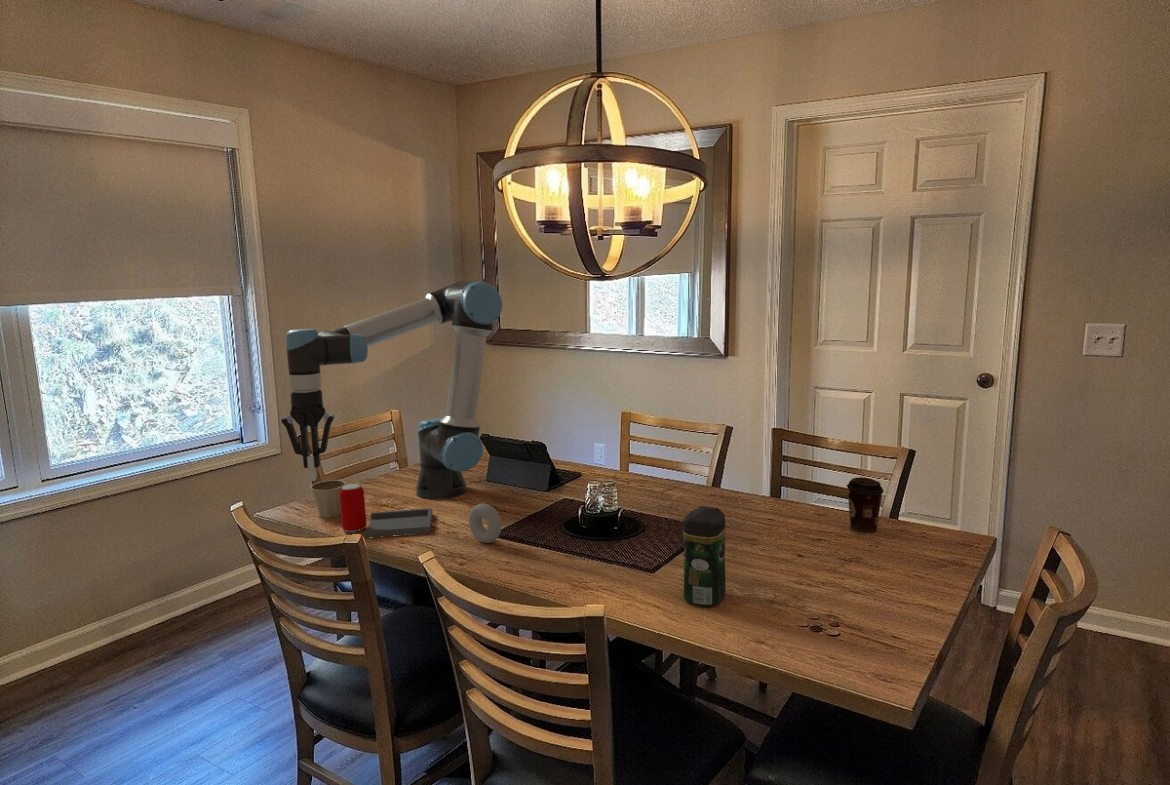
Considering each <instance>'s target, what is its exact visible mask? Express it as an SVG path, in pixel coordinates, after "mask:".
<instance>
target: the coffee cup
mask: <svg viewBox="0 0 1170 785" xmlns="http://www.w3.org/2000/svg"><path fill="white" fill-rule="evenodd" d="M846 487H847V490H848V491H849V493H848V495H847V496H848V497H847V498H848V511H849V512H848V513H849V514H848V515H849V520H850V526H849V527H850V530H851V531H852V532H853V533H856V534H859V535H863V536H864V535H865V536H873V535H875V534H877V533H878V526H879V525H878V524H879V523H878V522H879V518H880V511H881V510H880V509H881V503H882V495H883V493H884V488H883V487H882V484H881V482H880V481H877V480H875V479H872V478H870V477H853V478H851V480H849V482H848V483H847V484H846Z"/></svg>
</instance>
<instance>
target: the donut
mask: <svg viewBox="0 0 1170 785" xmlns="http://www.w3.org/2000/svg"><path fill="white" fill-rule="evenodd" d="M483 518H484V520H485V521H486V522H487V528H486V527H485V526H484V524H483ZM468 525H469V529H470V532H471V533H472V535H473V536H474V537H475V539H477V541H479V542H481V543H483V544H484V543H485V544H491V543H493V542H495V541H496V540H497V539H498V538H499V537H500V535H501V531H502V521H501V517H500V514H499V513H498V512H497V510H496V508H494V507H493V506H492V505H490V504H487V503H478V504H476V505H475V506H473V508H471V510H470V511H469V515H468Z"/></svg>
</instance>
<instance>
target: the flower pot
mask: <svg viewBox="0 0 1170 785" xmlns="http://www.w3.org/2000/svg"><path fill="white" fill-rule="evenodd" d="M345 485H347V483H346V481H344V480H338V479H329V480H322V481H319V482H318V481H317V482H315V483H313V484H312V485H310V487H309V489H310V490H311V491H312V493H313V495H314V499H315V502H316V507H317V511H318V515H319V517H322V518H327V519H328V518H330V517H333V518H334V517H338V516H341V507H340V496H339V493H340V490H341V488H342V487H343V486H345Z"/></svg>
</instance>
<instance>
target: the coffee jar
mask: <svg viewBox="0 0 1170 785" xmlns="http://www.w3.org/2000/svg"><path fill="white" fill-rule="evenodd" d="M682 524H683V527H682V535H683V549H684V550H683V552H684V553H683V554H684V555H683V562H684V563H683V598H684V599H683V600H685V601H686V602H687V603H690V604H691V605H693V606H696V607H715V606H717V605H719V603H720V602H721V601H722V600H723V598H724V596H725V594H726V588H727V587H726V586H727V585H726V583H727V582H726V516H725V514H724V512H723V511H721V510H720V509H719V507H718V508H717V507H713V506H712V507H711V506H703V505H701V506H699V507H698V508H695V509H693V510H691V511H690V512H689V513H688V514H687V515H686V516H685V517H684V518H683V521H682Z"/></svg>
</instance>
